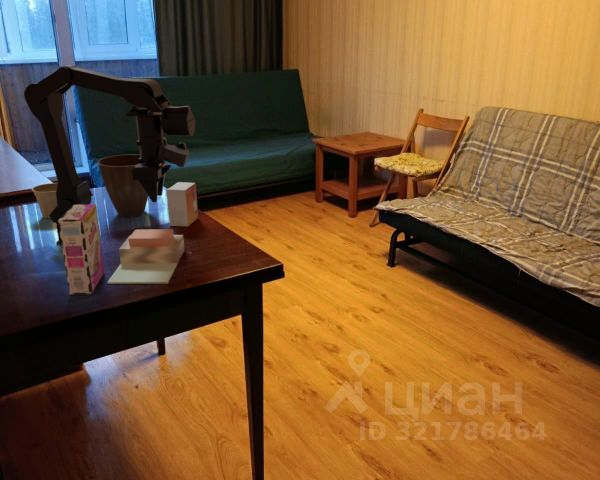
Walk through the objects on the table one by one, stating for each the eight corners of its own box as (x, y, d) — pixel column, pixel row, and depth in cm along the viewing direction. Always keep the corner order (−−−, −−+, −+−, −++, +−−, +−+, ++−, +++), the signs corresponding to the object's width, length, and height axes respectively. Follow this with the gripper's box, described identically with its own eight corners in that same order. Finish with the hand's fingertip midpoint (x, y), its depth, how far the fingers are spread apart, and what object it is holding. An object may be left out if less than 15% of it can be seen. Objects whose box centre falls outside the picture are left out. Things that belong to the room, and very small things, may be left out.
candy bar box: (93, 294, 116) (82, 220, 110) (69, 296, 116) (56, 220, 110) (106, 272, 126) (96, 202, 120) (83, 273, 126) (72, 203, 120)
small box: (188, 227, 154) (185, 190, 150) (169, 226, 155) (165, 189, 151) (198, 218, 161) (196, 182, 157) (180, 216, 162) (177, 181, 158)
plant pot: (149, 202, 175) (144, 152, 169) (164, 215, 163) (159, 161, 157) (100, 210, 168) (92, 157, 162) (111, 224, 156) (104, 168, 150)
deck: (121, 265, 130) (118, 249, 129) (131, 250, 138) (129, 235, 137) (177, 264, 130) (175, 248, 129) (184, 250, 138) (183, 234, 137)
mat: (107, 283, 121) (107, 282, 121) (121, 265, 130) (120, 263, 130) (167, 283, 121) (167, 281, 121) (177, 264, 130) (177, 263, 130)
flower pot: (78, 214, 165) (74, 185, 162) (50, 223, 158) (44, 193, 154) (58, 208, 170) (53, 181, 166) (30, 217, 162) (24, 188, 159)
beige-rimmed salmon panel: (129, 246, 130) (128, 238, 129) (136, 237, 136) (135, 229, 135) (168, 246, 130) (167, 238, 129) (173, 237, 136) (172, 229, 135)
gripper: (176, 142, 123) (182, 210, 129) (191, 127, 141) (196, 187, 146) (126, 143, 123) (134, 210, 129) (147, 128, 141) (153, 188, 146)
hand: (157, 198), depth 138 cm, fingers open, 5 cm apart
